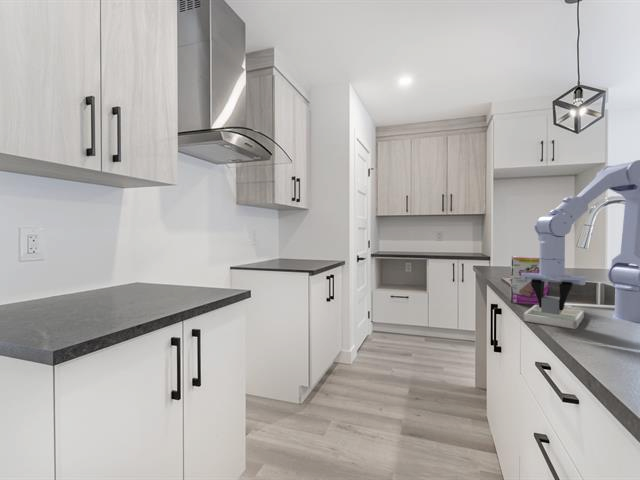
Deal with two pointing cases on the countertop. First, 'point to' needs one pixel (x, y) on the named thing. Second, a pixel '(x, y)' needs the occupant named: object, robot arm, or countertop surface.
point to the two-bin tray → (555, 317)
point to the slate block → (550, 305)
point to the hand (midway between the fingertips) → (551, 308)
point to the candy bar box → (522, 288)
